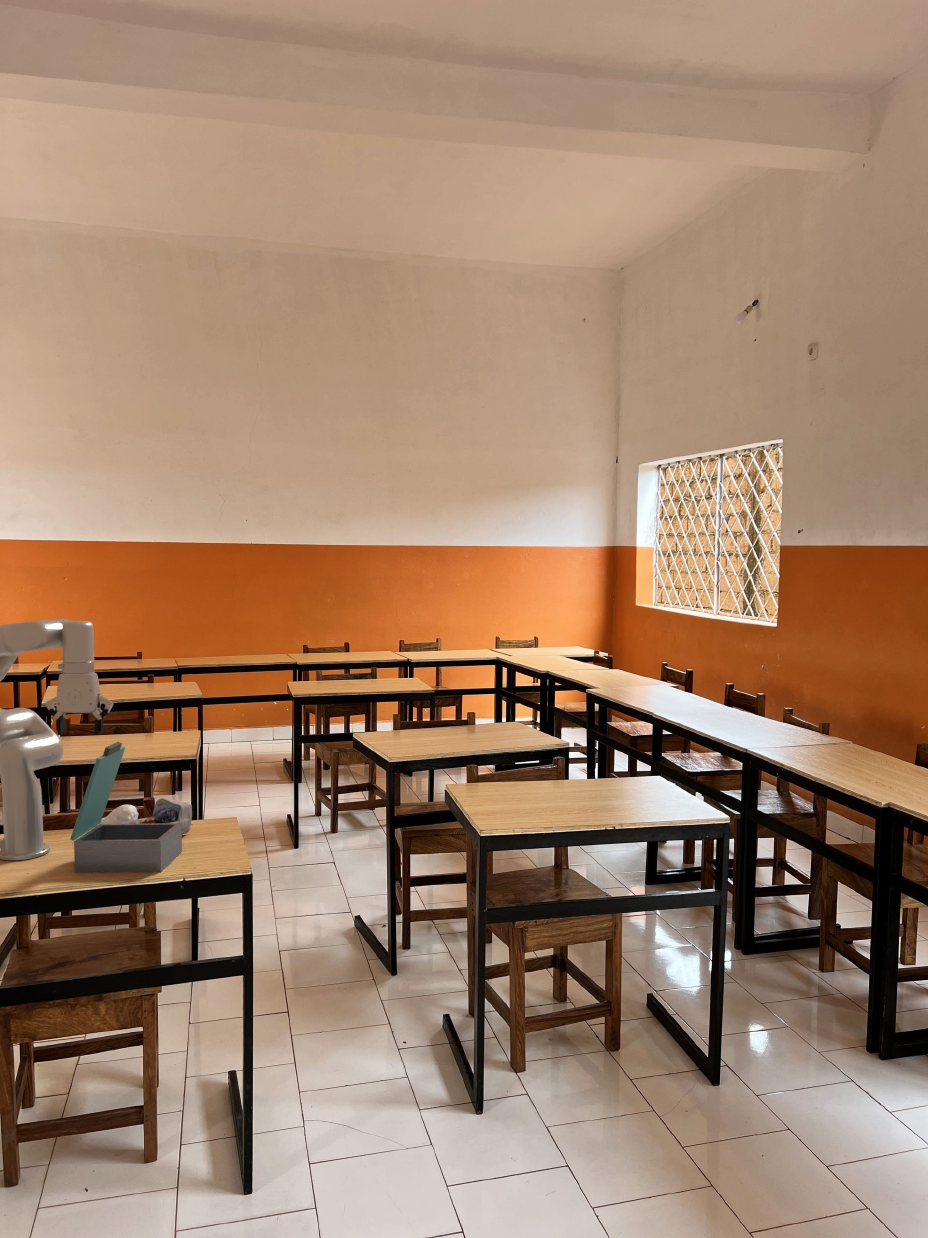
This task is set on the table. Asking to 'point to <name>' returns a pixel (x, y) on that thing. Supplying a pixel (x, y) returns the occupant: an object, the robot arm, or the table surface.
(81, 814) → the lid
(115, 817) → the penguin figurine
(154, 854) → the grey storage box
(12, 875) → the table surface
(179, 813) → the cell model
